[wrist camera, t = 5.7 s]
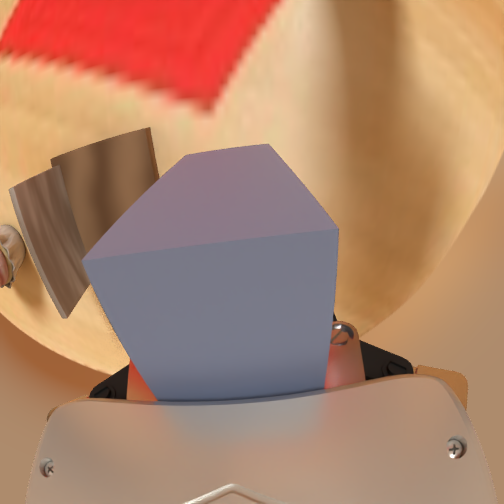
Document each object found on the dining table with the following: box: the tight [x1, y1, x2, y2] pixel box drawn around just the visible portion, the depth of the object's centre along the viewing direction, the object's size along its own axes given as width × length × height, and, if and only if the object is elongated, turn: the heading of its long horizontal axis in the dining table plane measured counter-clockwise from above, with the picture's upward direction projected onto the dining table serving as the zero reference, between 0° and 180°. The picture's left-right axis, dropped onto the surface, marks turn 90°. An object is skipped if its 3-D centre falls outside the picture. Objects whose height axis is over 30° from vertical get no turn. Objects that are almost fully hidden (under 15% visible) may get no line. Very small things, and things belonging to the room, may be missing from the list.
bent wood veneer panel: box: [9, 127, 159, 318], centre depth 24 cm, size 12×16×10 cm
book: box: [81, 144, 339, 402], centre depth 11 cm, size 4×12×10 cm, turn 6°
